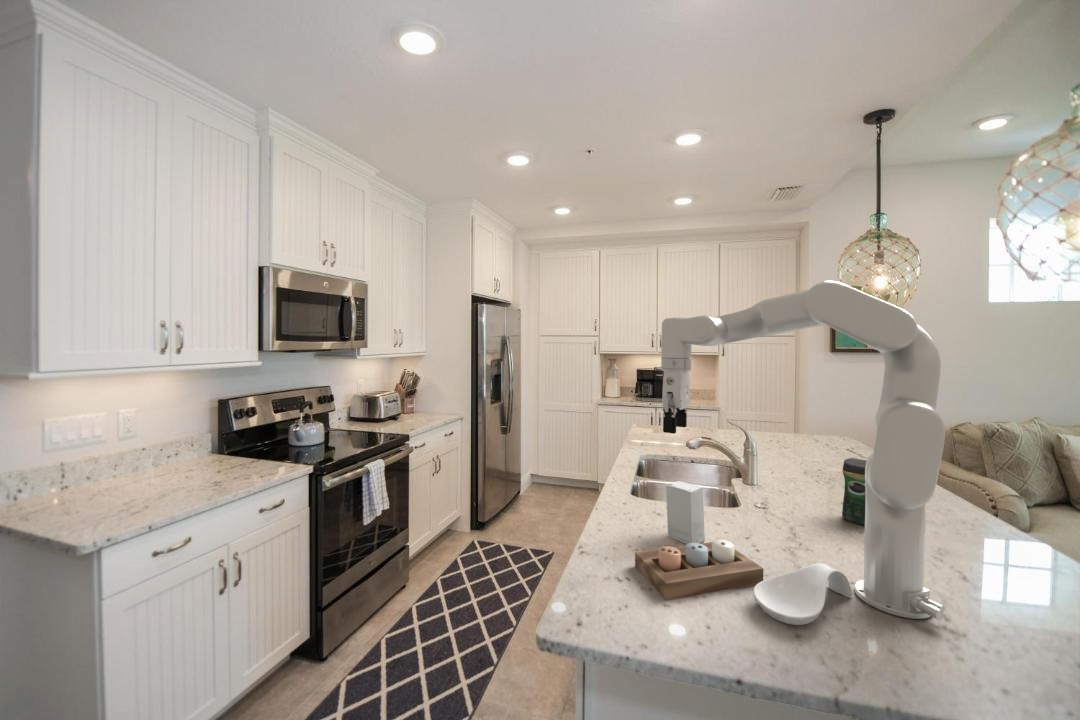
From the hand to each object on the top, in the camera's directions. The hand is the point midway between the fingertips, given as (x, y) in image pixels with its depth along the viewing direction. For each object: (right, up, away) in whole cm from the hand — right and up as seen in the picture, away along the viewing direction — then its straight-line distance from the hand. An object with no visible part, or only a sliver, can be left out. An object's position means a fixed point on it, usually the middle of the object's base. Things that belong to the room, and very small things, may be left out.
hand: (675, 429), depth 113 cm
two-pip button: (0, -29, -14) cm, 33 cm away
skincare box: (+4, -31, +4) cm, 31 cm away
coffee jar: (+61, -30, +15) cm, 70 cm away
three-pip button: (-6, -29, -16) cm, 34 cm away
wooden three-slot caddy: (0, -31, -14) cm, 34 cm away
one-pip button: (+7, -29, -13) cm, 33 cm away
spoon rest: (+18, -32, -26) cm, 45 cm away
